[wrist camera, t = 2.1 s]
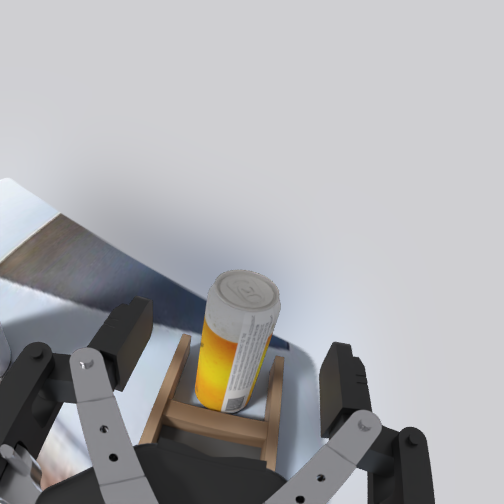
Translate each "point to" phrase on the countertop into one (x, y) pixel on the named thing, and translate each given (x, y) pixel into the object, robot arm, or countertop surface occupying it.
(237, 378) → the beer can
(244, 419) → the brown wooden flat frame
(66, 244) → the countertop surface
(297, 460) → the countertop surface
